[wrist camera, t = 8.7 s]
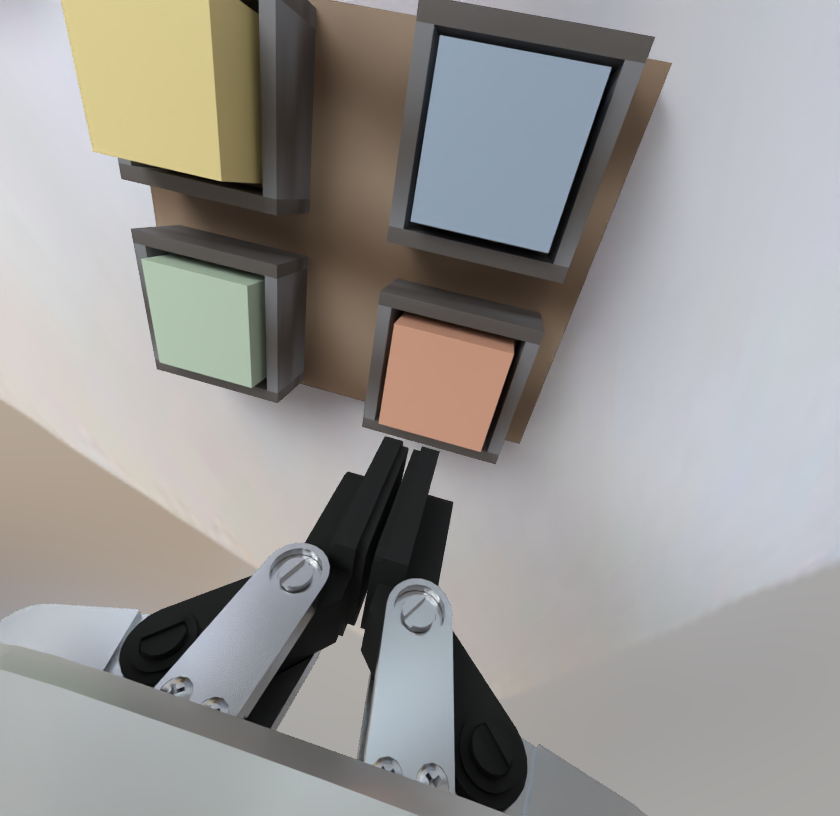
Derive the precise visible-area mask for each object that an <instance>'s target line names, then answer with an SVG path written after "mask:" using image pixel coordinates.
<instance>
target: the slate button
mask: <svg viewBox="0 0 840 816" xmlns="http://www.w3.org/2000/svg"><path fill="white" fill-rule="evenodd" d="M611 68H612V67H607V66H602V65H597V64H591V63H586V62H581V61H575V60H570V59H565V58H559V57H554V56H549V55H543V54H538V53H533V52H527V51H522V50H517V49H511V48H506V47H501V46H495V45H490V44H485V43H479V42H474V41H469V40H463V39H458V38H453V37H447V36H442V35H440V39H439V45H438V51H437V58H436V64H435V70H434V77H433V83H432V89H431V95H430V102H429V108H428V114H427V121H426V127H425V133H424V140H423V146H422V152H421V159H420V165H419V171H418V177H417V184H416V190H415V196H414V203H413V209H412V215H411V222H415V223H420V224H424V225H428V226H433V227H437V228H441V229H446V230H450V231H454V232H458V233H463V234H467V235H471V236H476V237H480V238H484V239H489V240H493V241H497V242H502V243H506V244H510V245H515V246H519V247H523V248H528V249H532V250H536V251H541V252H545V253H549V250H550V247H551V244H552V241H553V238H554V235H555V232H556V229H557V226H558V223H559V220H560V217H561V215H562V212H563V209H564V206H565V203H566V200H567V197H568V194H569V191H570V188H571V185H572V182H573V179H574V176H575V173H576V171H577V168H578V165H579V162H580V159H581V156H582V153H583V150H584V147H585V144H586V141H587V138H588V135H589V132H590V129H591V126H592V124H593V121H594V118H595V115H596V112H597V109H598V106H599V103H600V100H601V97H602V94H603V91H604V88H605V85H606V82H607V80H608V77H609V74H610V71H611Z"/></svg>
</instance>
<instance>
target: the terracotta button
mask: <svg viewBox="0 0 840 816" xmlns="http://www.w3.org/2000/svg"><path fill="white" fill-rule="evenodd" d="M513 356H514V339H513V338H509V337H505V336H501V335H497V334H493V333H490V332H486V331H482V330H478V329H474V328H470V327H466V326H462V325H458V324H454V323H450V322H446V321H442V320H438V319H434V318H430V317H426V316H422V315H418V314H414V313H410V312H406V311H405V312H404V314H403V315H402V316H401V317H400V318H399V319H398V320H397V321H396V322H395V323H394V329H393V335H392V341H391V347H390V354H389V360H388V366H387V373H386V379H385V385H384V392H383V398H382V404H381V411H380V417H379V423H378V424H382V425H386V426H389V427H393V428H396V429H400V430H404V431H407V432H411V433H414V434H418V435H421V436H425V437H429V438H432V439H436V440H439V441H443V442H446V443H450V444H454V445H457V446H461V447H464V448H468V449H472V450H475V451H479V452H481V450H482V447H483V444H484V441H485V438H486V435H487V432H488V429H489V426H490V423H491V420H492V417H493V414H494V411H495V408H496V405H497V403H498V400H499V397H500V394H501V391H502V388H503V385H504V382H505V379H506V376H507V373H508V370H509V367H510V364H511V361H512V359H513Z"/></svg>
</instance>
